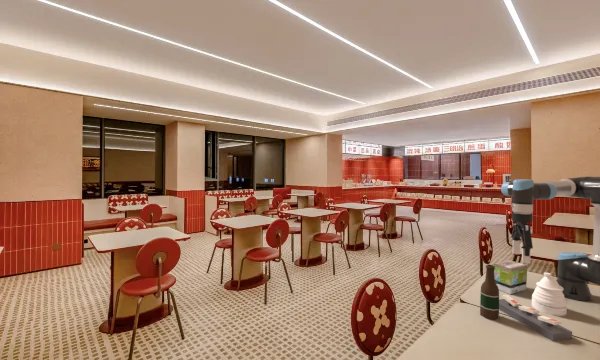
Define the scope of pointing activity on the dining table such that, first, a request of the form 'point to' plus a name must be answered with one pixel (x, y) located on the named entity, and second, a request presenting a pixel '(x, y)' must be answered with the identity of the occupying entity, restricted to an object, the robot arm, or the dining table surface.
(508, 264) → the tea box
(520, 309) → the middle rocker
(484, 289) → the beer bottle
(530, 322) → the power strip
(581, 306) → the dining table surface
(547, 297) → the honey pot
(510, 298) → the rocker
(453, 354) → the dining table surface
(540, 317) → the end rocker
